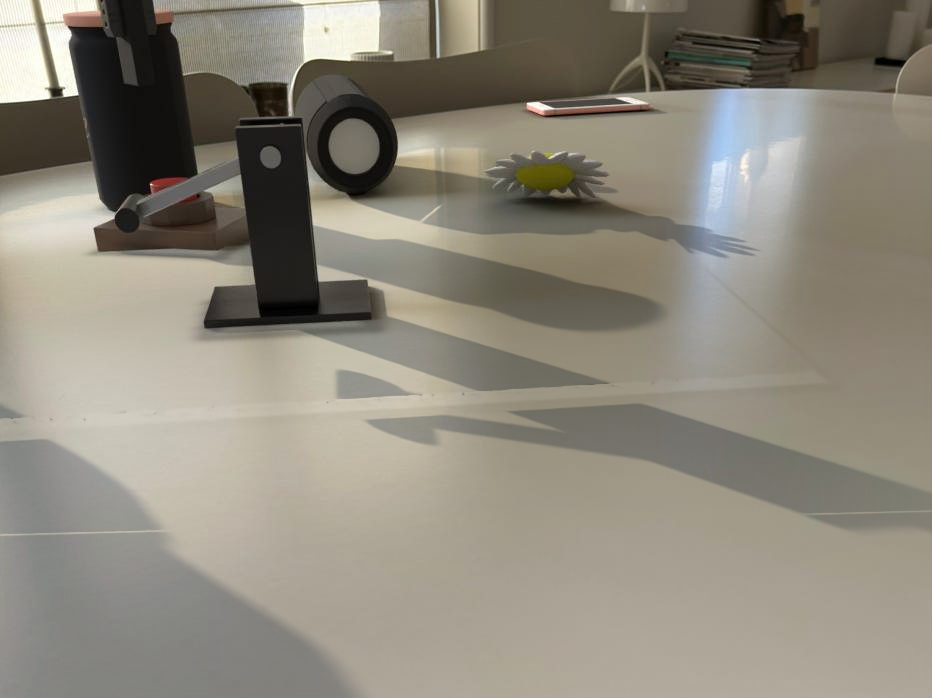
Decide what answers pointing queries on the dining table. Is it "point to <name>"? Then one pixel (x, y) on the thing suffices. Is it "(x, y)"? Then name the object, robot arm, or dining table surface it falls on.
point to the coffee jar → (131, 110)
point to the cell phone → (587, 106)
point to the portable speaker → (346, 134)
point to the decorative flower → (547, 173)
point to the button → (167, 182)
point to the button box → (179, 228)
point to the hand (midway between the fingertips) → (140, 83)
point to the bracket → (281, 238)
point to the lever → (172, 195)
